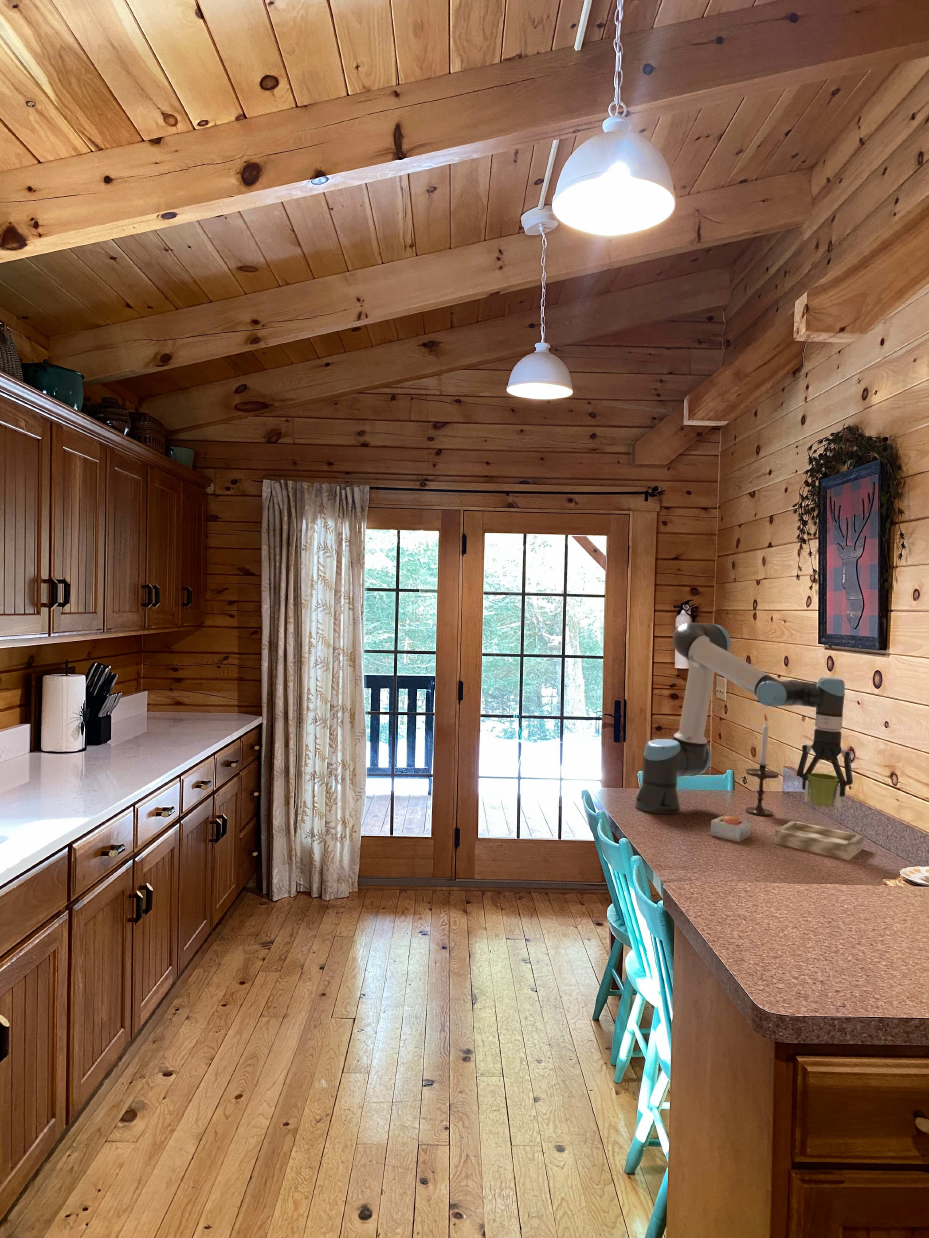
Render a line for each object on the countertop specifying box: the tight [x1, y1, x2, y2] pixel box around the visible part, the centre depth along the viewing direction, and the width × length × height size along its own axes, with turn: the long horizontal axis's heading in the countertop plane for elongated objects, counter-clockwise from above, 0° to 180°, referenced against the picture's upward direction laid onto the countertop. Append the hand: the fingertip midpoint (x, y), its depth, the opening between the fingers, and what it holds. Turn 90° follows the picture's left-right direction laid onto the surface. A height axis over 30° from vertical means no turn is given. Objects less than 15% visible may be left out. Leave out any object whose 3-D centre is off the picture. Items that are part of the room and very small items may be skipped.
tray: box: [774, 820, 864, 861], centre depth 254 cm, size 21×17×4 cm
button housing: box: [709, 815, 751, 843], centre depth 259 cm, size 9×9×4 cm
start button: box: [722, 815, 741, 825], centre depth 259 cm, size 5×5×3 cm
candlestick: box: [744, 713, 780, 818], centre depth 292 cm, size 11×11×35 cm
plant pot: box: [808, 772, 840, 808], centre depth 254 cm, size 9×9×9 cm
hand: (822, 803), depth 254 cm, fingers closed on plant pot, 8 cm apart
